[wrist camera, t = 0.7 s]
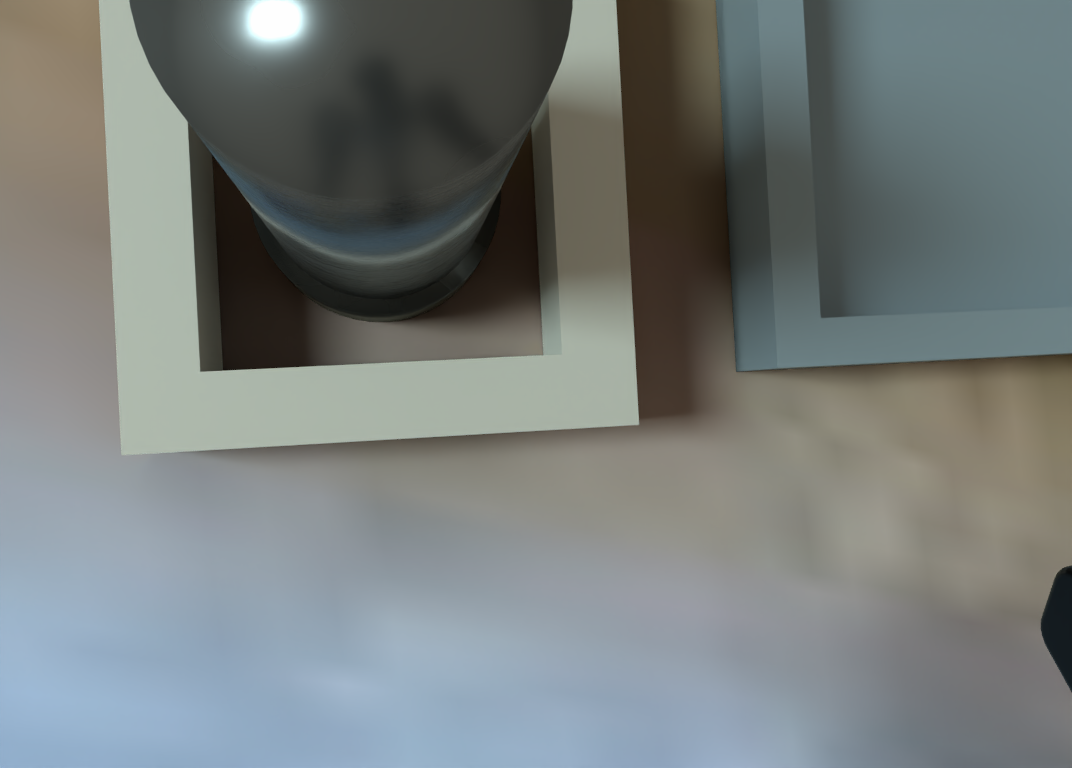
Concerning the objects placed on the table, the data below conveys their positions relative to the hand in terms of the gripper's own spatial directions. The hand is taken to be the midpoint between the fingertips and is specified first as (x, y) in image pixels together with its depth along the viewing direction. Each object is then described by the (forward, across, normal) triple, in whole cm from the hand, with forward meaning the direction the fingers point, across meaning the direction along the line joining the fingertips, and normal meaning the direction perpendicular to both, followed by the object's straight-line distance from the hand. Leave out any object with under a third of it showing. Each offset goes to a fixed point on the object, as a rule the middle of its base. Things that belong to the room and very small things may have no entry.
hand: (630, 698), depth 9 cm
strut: (+15, +1, +1) cm, 15 cm away
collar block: (+15, +1, +1) cm, 15 cm away
